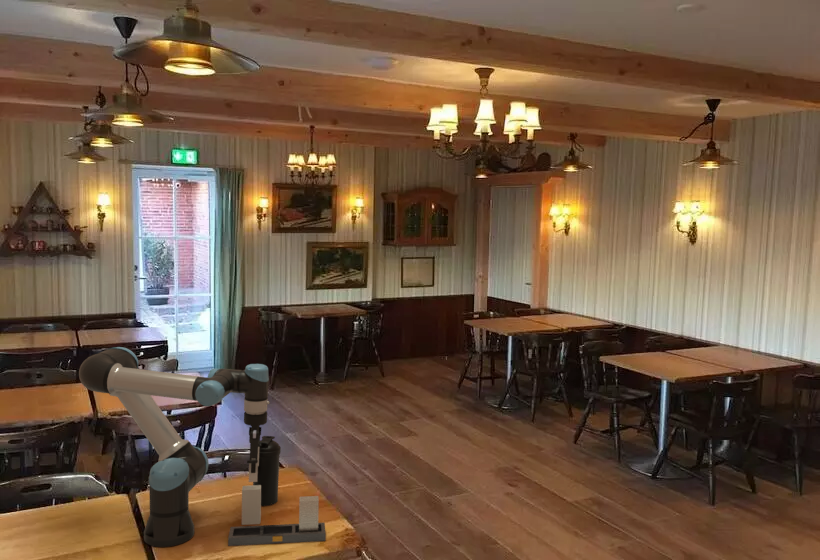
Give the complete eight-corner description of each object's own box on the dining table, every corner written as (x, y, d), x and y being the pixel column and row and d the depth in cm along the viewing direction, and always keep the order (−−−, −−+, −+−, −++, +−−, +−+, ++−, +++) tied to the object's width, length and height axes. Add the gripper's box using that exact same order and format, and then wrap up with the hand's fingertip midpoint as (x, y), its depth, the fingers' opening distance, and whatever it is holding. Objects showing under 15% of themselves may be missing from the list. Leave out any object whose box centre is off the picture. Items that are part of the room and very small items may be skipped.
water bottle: (283, 496, 245) (284, 435, 242) (275, 508, 234) (275, 444, 232) (256, 494, 246) (257, 433, 243) (247, 506, 235) (247, 442, 233)
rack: (228, 546, 207) (228, 507, 206) (230, 534, 214) (230, 496, 213) (325, 541, 212) (326, 503, 211) (324, 530, 220) (325, 493, 218)
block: (241, 524, 221) (241, 490, 220) (242, 520, 225) (242, 485, 224) (260, 524, 222) (260, 489, 221) (260, 519, 226) (261, 485, 225)
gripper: (266, 423, 209) (264, 488, 211) (268, 400, 233) (266, 459, 236) (241, 423, 208) (239, 489, 210) (246, 400, 232) (244, 459, 234)
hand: (253, 473), depth 223 cm, fingers open, 13 cm apart
